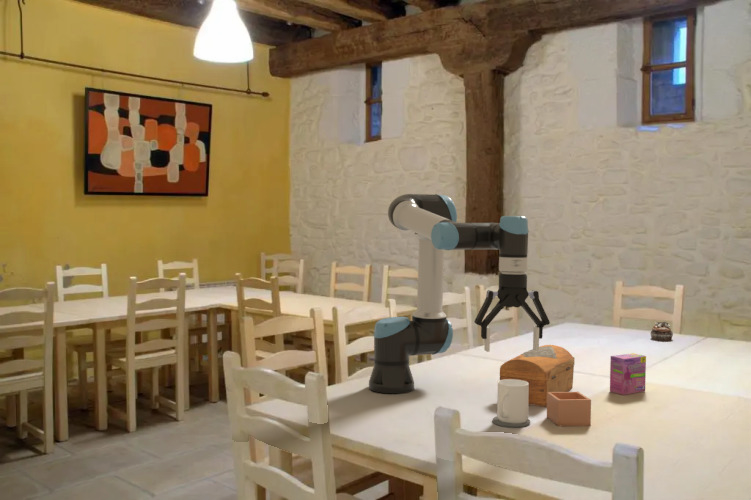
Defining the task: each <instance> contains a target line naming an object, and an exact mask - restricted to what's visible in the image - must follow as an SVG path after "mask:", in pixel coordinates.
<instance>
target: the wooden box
mask: <svg viewBox="0 0 751 500" xmlns="http://www.w3.org/2000/svg"><path fill="white" fill-rule="evenodd" d="M574 367H575V357H574V356H573V355H572V353H570V351H569V350H567V349H566V348H564V347H563V346H559V345H556V344H555V345H554V344H544V345H539V351H535V350H533V348H532V349H530V350H528V351H525V352H523V353H521V354H520V355H516V356H515V357H513V358H511V359H509V360H507V361H505V362H504V363H502V364H501V365H500V366H499V381H500V380H505V379H516V380H523V381H526V382H528V383H529V395H528V406H529V405H530V406H531V405H532V406H537V407H538V406H539V407H545V408H547V392H570V390H572V389H573V387H574V386H573V384H574V373H575V372H574V371H575V368H574Z"/></svg>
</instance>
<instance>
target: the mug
mask: <svg viewBox="0 0 751 500" xmlns="http://www.w3.org/2000/svg"><path fill="white" fill-rule="evenodd" d="M528 395H529V383H528V382H526V381H523V380H516V379H505V380H500V379H499V380H498V381H497V407H496V408H497V413H496V414H497V415H496V416H498V419H499V420H500V421H502V422H505V423H510V424H520V423H525V422H526V421H527V420H528V419H529V404H528Z"/></svg>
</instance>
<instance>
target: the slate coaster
mask: <svg viewBox="0 0 751 500" xmlns="http://www.w3.org/2000/svg"><path fill="white" fill-rule="evenodd" d="M492 423H493V424H494V425H496V426H499V427H503V428H510V429H511V428H512V429H515V428H518V429H519V428H524V427H528V426H530V425H531V420H530V419H529V418H528V420H527V421H526V422H525V423H520V424H510V423H505V422H502V421H500V420H499V419H498V415H496V416H494V417H493V418H492Z"/></svg>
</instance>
